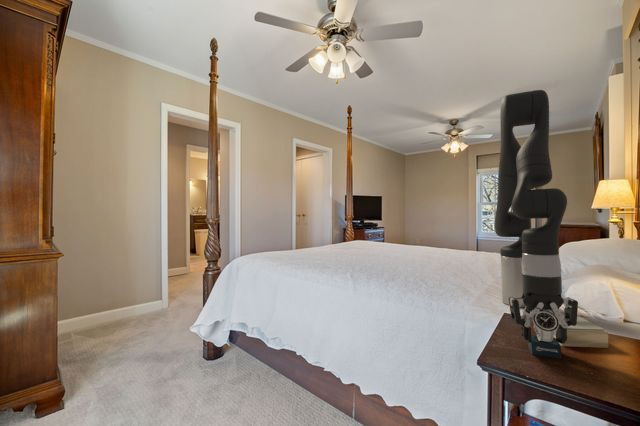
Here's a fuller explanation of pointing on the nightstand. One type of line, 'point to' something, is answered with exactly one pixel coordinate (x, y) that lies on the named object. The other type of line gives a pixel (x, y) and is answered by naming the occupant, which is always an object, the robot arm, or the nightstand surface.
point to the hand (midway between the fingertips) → (543, 341)
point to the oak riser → (586, 335)
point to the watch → (545, 335)
